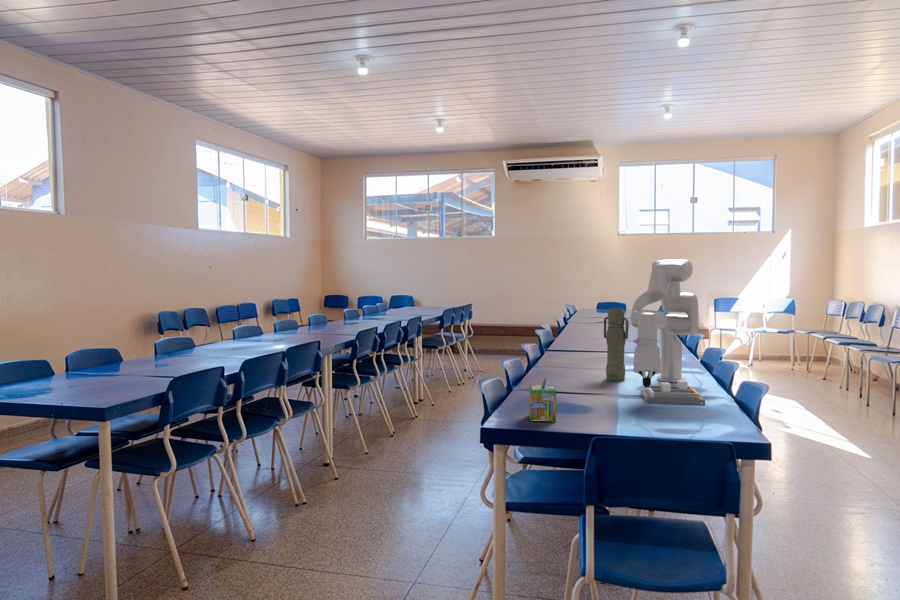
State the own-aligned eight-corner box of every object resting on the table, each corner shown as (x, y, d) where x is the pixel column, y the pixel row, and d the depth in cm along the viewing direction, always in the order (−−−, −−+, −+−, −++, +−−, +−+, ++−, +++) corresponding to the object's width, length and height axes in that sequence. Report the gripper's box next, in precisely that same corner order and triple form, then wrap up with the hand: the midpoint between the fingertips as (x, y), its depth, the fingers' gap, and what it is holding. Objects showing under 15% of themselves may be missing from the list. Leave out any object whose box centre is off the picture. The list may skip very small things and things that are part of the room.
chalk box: (528, 415, 207) (528, 375, 206) (554, 415, 206) (554, 376, 205) (529, 422, 197) (529, 380, 197) (556, 422, 196) (556, 381, 196)
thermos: (625, 382, 264) (626, 308, 262) (600, 380, 270) (601, 307, 268) (630, 379, 272) (631, 307, 270) (606, 377, 278) (606, 306, 276)
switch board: (646, 402, 225) (646, 392, 224) (640, 393, 240) (640, 384, 240) (705, 404, 221) (705, 394, 221) (694, 395, 236) (695, 386, 236)
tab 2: (679, 393, 231) (679, 381, 230) (677, 390, 235) (677, 379, 235) (687, 393, 230) (687, 382, 230) (684, 391, 234) (685, 379, 234)
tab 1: (662, 395, 226) (662, 384, 226) (660, 393, 230) (660, 382, 230) (670, 396, 226) (670, 384, 225) (668, 393, 230) (668, 382, 230)
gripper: (629, 343, 226) (628, 388, 227) (668, 344, 223) (667, 389, 224) (626, 341, 233) (626, 384, 234) (664, 341, 230) (664, 385, 232)
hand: (646, 387), depth 229 cm, fingers closed
